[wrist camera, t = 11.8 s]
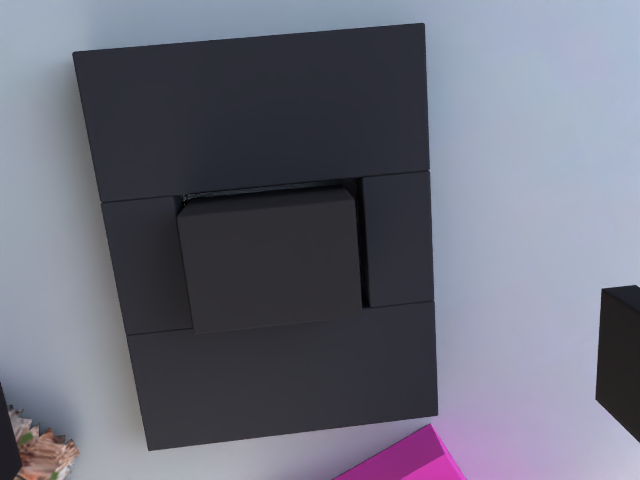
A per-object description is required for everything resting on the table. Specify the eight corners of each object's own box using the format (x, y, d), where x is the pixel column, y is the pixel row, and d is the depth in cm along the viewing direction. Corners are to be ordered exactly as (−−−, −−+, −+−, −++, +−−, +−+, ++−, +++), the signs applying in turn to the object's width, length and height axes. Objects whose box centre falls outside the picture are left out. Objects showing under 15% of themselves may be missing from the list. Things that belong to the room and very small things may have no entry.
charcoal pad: (87, 55, 23) (70, 51, 21) (413, 28, 24) (425, 22, 22) (156, 427, 28) (148, 451, 26) (427, 394, 29) (438, 416, 27)
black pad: (190, 198, 25) (175, 216, 21) (342, 183, 26) (354, 199, 22) (206, 300, 26) (194, 335, 23) (350, 285, 27) (363, 316, 23)
